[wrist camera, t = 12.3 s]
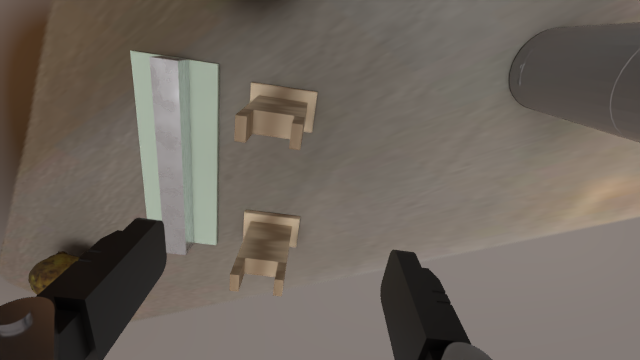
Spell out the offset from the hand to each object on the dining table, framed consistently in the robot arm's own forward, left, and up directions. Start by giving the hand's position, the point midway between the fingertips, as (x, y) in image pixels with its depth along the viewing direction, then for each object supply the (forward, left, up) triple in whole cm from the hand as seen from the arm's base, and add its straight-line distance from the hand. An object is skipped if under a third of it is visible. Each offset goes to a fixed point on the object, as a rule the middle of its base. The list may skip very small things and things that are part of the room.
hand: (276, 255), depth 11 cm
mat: (+16, +10, -30) cm, 35 cm away
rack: (+3, +10, -30) cm, 32 cm away
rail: (+16, +10, -29) cm, 35 cm away
